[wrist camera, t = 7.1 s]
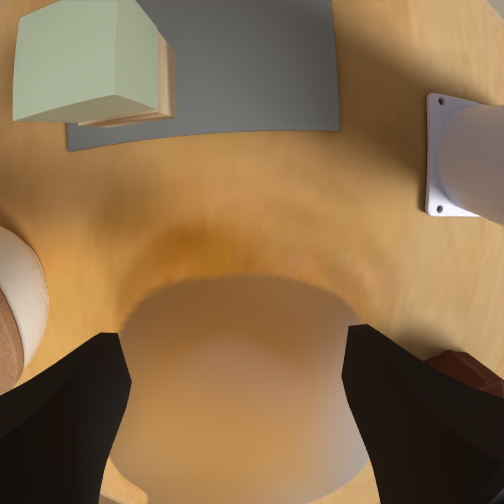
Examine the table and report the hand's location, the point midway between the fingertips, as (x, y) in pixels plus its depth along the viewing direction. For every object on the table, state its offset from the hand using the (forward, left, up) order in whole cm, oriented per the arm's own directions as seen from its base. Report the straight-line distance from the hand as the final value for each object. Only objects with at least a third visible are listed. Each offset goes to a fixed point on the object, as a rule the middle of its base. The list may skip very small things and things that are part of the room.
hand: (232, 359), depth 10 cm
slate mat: (+2, -13, -10) cm, 17 cm away
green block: (+5, -10, -6) cm, 13 cm away
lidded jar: (+17, +1, -11) cm, 20 cm away
